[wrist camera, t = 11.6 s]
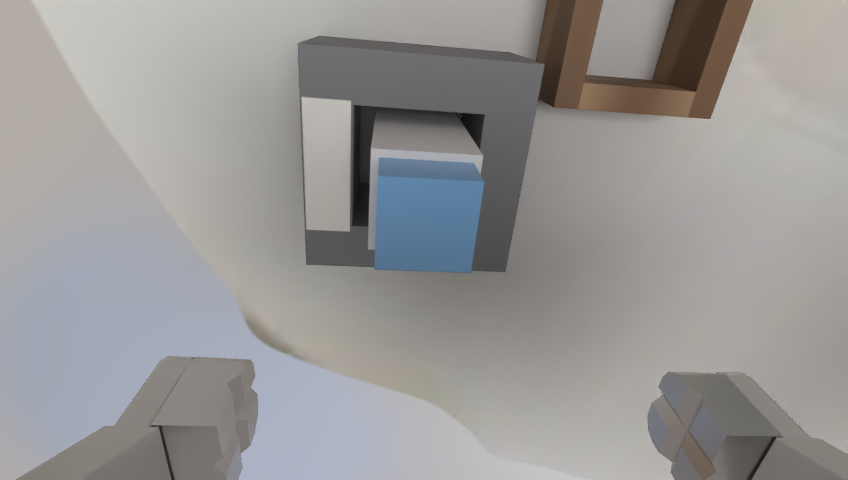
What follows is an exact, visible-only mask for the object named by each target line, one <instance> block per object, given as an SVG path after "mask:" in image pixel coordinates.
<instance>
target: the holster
mask: <svg viewBox="0 0 848 480" xmlns="http://www.w3.org/2000/svg"><path fill="white" fill-rule="evenodd" d="M752 2H753V0H676V3H675V6H674V10H673V13H672V17H671V20H670V23H669V27H668V30H667V34H666V37H665V40H664V44H663V47H662V50H661V54H660V57H659V61H658V64H657V67H656V71H655V74H654V78H653V81H652V80H640V79H627V78H615V77H603V76H591V75H586V72H587V68H588V63H589V59H590V55H591V51H592V46H593V42H594V38H595V33H596V29H597V25H598V20H599V16H600V12H601V7H602V3H603V0H547V5H546V11H545V16H544V22H543V27H542V33H541V38H540V44H539V49H538V55H537V60H536V62H539V63H542V64H545V66H544V71H543V76H542V81H541V87H540V92H539V97H538V98H539V99H540V100H542V101H544V102H546V103H547V104H549V105H551V106H552V107H557V108H570V109H584V110H597V111H610V112H624V113H637V114H650V115H664V116H677V117H690V118H703V119H710V118H711V115H712V113H713V110H714V107H715V104H716V102H717V99H718V96H719V93H720V91H721V88H722V85H723V82H724V79H725V77H726V74H727V71H728V68H729V66H730V63H731V60H732V57H733V55H734V52H735V49H736V46H737V44H738V41H739V38H740V35H741V33H742V30H743V27H744V24H745V22H746V19H747V16H748V13H749V11H750V8H751V5H752Z"/></svg>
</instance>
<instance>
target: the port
mask: <svg viewBox="0 0 848 480" xmlns="http://www.w3.org/2000/svg"><path fill="white" fill-rule="evenodd" d="M298 60H299V86H300V112H301V138H302V163H303V189H304V215H305V241H306V265H332V266H359V267H374V263H375V250H368V226H369V193H370V184H366V183H360V142H361V106H374V107H388V108H402V109H415V110H429V111H443V112H457V113H462V116H461V122H462V124H463V125H464V127H465V128H466V130H467V131H468V133H469V134H470V136H471V137H472V139H473V140H474V142H475V143H476V145H477V146H478V148H479V150H480V151H481V153H482V154H483V161H482V168H481V177H482V178H483V180H484V188H483V195H482V201H481V208H480V215H479V221H478V228H477V235H476V241H475V248H474V255H473V261H472V268H471V271H493V272H505V270H506V265H507V260H508V255H509V249H510V244H511V239H512V234H513V228H514V223H515V218H516V213H517V207H518V202H519V197H520V192H521V186H522V181H523V176H524V171H525V165H526V160H527V155H528V150H529V144H530V139H531V134H532V129H533V123H534V118H535V113H536V108H537V102H538V97H539V92H540V87H541V81H542V76H543V71H544V66H545V64H542V63H539V62H536V61H533V60H530V59H528V58H525V57H522V56H519V55H516V54H513V53H509V52H497V51H486V50H474V49H463V48H451V47H440V46H428V45H417V44H405V43H393V42H382V41H370V40H359V39H347V38H336V37H324V36H318V37H315V38H312V39H309V40H306V41H303V42H300V43H298Z"/></svg>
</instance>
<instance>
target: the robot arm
mask: <svg viewBox="0 0 848 480" xmlns="http://www.w3.org/2000/svg"><path fill="white" fill-rule="evenodd" d="M254 378H255V371H254V365H253V362H252V361H251V360H247V359H227V358H208V357H179V356H167V357H166V358H164V359H162V360H161V361H160V362H159V364H158V365H157V367H156V368H155V369H154V371H153V372H152V374H151V375H150V376H149V378H148V379H147V380H146V382H145V383H144V385H143V386H142V387H141V389H140V390H139V392H138V393H137V394H136V396H135V397H134V399H133V400H132V402H131V403H130V404H129V406H128V407H127V409H126V410H125V411H124V413H123V414H122V416H121V417H120V419H119V420H118V421H117V423H116V424H115V425H114V426H104V427H102V428H101V429H99V430H98V431H96V432H94V433H92V434H91V435H89V436H87V437H86V438H84V439H82V440H81V441H79V442H77V443H76V444H74V445H72V446H71V447H69V448H68V449H66V450H64V451H62V452H61V453H59V454H58V455H56V456H54V457H53V458H51V459H49V460H48V461H46V462H44V463H43V464H41V465H39V466H38V467H36V468H34V469H33V470H31V471H30V472H28V473H26V474H24V475H23V476H21V477H20V478H18V479H16V480H238V478H239V475H240V473H241V470H242V461H241V453H242V452H243V451H244V450H246V449H247V448H248V447H249V446H250V445H251V441H252V439H253V435H254V433H255V428H256V422H257V417H258V397H257V393H256V392H255V391H254V390H253V389H252V388H251V385H252V383H253V380H254ZM659 389H660V391H661V393H662V396H661V397H659V398H658V399H657V400H655V401H654V402H653V403H652V404H651V407H650V410H649V413H648V430H649V433H650V436H651V439H652V441H653V443H654V445H655V447H656V448H657V450H658V452H659V453H661V454H662V455H663V456H665V457H666V458H667V459H669V460H670V461H671V462H672V466H671V474H672V475H673V477H674V479H675V480H848V454H846V453H844V452H842V451H841V450H839V449H837V448H835V447H833V446H832V445H830V444H828V443H826V442H824V441H823V440H821V439H816V438H810V437H809V436H808V435H807V434H806V433H805V432H804V431H803V430H802V428H801V427H800V426H799V425H798V424H797V423H796V422H795V421H794V420H793V419H792V418H791V417H790V416H789V415H788V414H787V413H786V412H785V411H784V410H783V409H782V408H781V407H780V406H779V405H778V404H777V403H776V402H775V401H774V400H773V399H772V398H771V397H770V396H769V395H768V394H767V393H766V392H765V391H764V390H763V389H762V388H761V387H760V386H759V385H758V384H757V383H756V382H755V381H754V380H753V379H752V378H751V377H749V376H747V375H745V374H743V373H720V372H718V373H699V372H668V373H667V374H666V375H664V376H663V377H662V380H661V382H660V384H659Z"/></svg>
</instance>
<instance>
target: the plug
mask: <svg viewBox="0 0 848 480" xmlns="http://www.w3.org/2000/svg"><path fill="white" fill-rule="evenodd" d="M482 161H483V154H482V153H481V151H480V150H479V148H478V146H477V145H476V143H475V142H474V140H473V139H472V137H471V136H470V134H469V133H468V131H467V130H466V128H465V127H464V125H463V124H462V122H461V120H460V119H459V117H458V116H457V114H456V113H455V112H443V111H429V110H415V109H402V108H388V107H376V114H375V121H374V129H373V136H372V143H371V159H370V193H369V226H368V250H375V263H374V269H377V270H405V271H432V272H460V273H471V268H472V261H473V255H474V248H475V241H476V235H477V228H478V221H479V215H480V208H481V201H482V195H483V188H484V180H483V178H482V177H481V168H482Z"/></svg>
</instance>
